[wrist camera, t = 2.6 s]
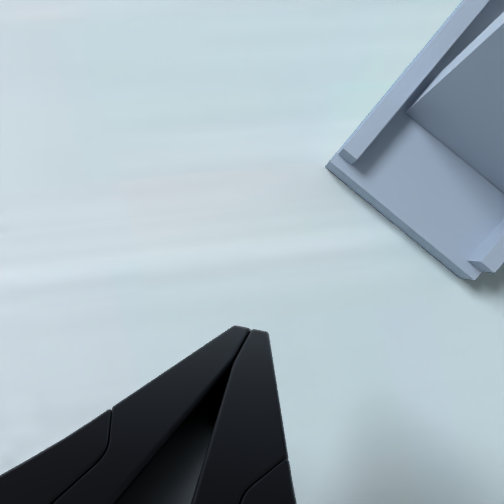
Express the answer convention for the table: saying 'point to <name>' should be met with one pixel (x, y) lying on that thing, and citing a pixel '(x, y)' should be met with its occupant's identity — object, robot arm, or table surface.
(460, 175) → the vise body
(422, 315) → the table surface
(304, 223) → the table surface
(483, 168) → the free jaw
